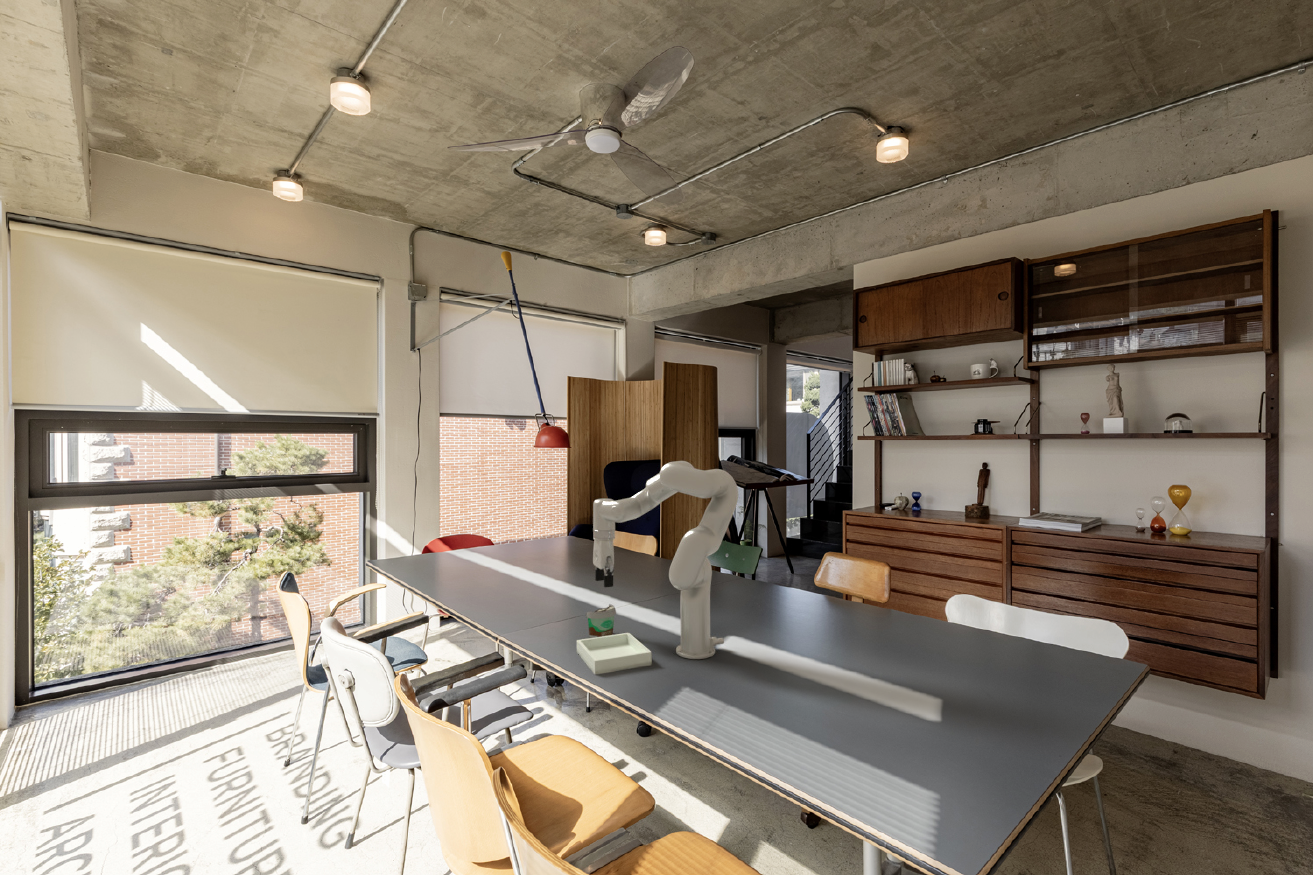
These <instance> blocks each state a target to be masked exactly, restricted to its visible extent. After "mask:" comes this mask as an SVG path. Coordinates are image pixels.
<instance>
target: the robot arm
mask: <svg viewBox="0 0 1313 875" xmlns="http://www.w3.org/2000/svg"><path fill="white" fill-rule="evenodd" d="M677 493H682V494H685V495H688V496H693V497H696V498H699V499H710V498H711V500H710V502H709V503H708V505H707V506H706V509H705V510H704V513H703V515H702V518H701V519H700V521H699V524H698V526H696V527H695V528H692V529H689V530H688V531H687V532H686V533H685V534H684V535H683V537H682V538H681V540H680V543H679V544H678V547H677V550H676V551H675V553H674V554H675V555H674V557H673V559H672V562H671V564H670V567H669V570H668V578H669V582H670V583H671V585H672V586H673V587H674V588H675V589H677V590H679V591H680V606H679V607H680V609H679V610H680V617H679V619H680V644H679V645H678V646H676V649H675V653H676V655H678V656H680V657H682V658H685V659H690V660H701V659H708V658H711V657H713V656H714V655H715V654H716V648H715V646H716V645H724V643H725V640H724V638H723V637H719V638H717V636H711V582H712V576H713V570H712V564H711V561H710V560H709V558H708V557H709V556H711V555H713V554H715V553H716V552H717V551H718V550H719V549H720V547H721V545H722V541H723V539H724V537H725V534H726V532H727V529H728V528H729V525H730V522H731V520H732V518H733V515H734V514H735V513H734V512H735V510H736V507H737V505H738V501H739V489H738V485H737V482H736V481H735V479H734V478H733V476H732V475H731V474H729V472H727V471H726V470H724V469H719V468H714V469H707V470H706V469H705V470H702V469H698V468H695V467H694V466H693V464H691V463H690V462H688V461H685V460H678V461H677V460H676V461H670V462H668V463H665V464H664V465H663V466H661V469H660V471H659V473H657V474H656V475H654V476H653V477H651V478H649V479H647V480H646V483H645V488H644V489H642V490H641V491H639V492H637V493H636V494H634V495H633V496H631V497H627V498H622V499H618V500H614V499H612V498H597V499H595V500H594V501H593V503H592V504H593V508H592V511H593V514H592V517H593V518H592V524H593V525H592V526H593V528H592V532H593V538H592V539H593V540H594V541H593V547H592V548H593V549H592V551H593V552H592V563H593V566H594V569H595V574H594V575H595V576H594V577H595V581H596V582H601V581H603V587H604V588H612V587H614V571H615V570H614V567H615V550H614V549H615V548H614V540H615V538H616V523H625V522H627V521H631V520H636V519H637V518H640V517H641V516H643V515H645V514H646V513H648V512H649V511H652V510H653V509H654V508H656V507H657V506H659V505H660V504H661V503H662V502H664V501H665V500H667V499H668V498H670V497H672V496H673V495H675V494H677Z"/></svg>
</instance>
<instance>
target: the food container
mask: <svg viewBox="0 0 1313 875" xmlns="http://www.w3.org/2000/svg"><path fill="white" fill-rule="evenodd" d="M616 614H617V610H616V608H615V605H613V604H611V603H609V604H608V606H606V607H604V608H599V609H597V610H594V611H587V612H586V618H587V623H588V635H589V638H595V637H602V636H609V635H614V622H615V615H616Z"/></svg>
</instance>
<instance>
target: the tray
mask: <svg viewBox="0 0 1313 875" xmlns="http://www.w3.org/2000/svg"><path fill="white" fill-rule="evenodd" d="M576 653H577V655H578V654H579V655H578V656H579V657H580V659H581V660H582V661H583V662H584V664H586V666H587V667H588V668H589V669H590V670H591V672H592V673H593V674H594V676H595V675H601V674H608V673H613V672H619V671H623V670H624V671H625V670H630V669H636V668H643V667H648V666H652V664H653V663H652V659H653V658H652V651H651V650H650V649H649V648H647V647H646V646H645V645H644V644H643V643H642V642H640V641H639V640H638V639H637V638H636V637H634V636H633V635H632V634H631V633H630V632H625V633H619V634H618V633H617V634H613V635H609V636H602V637H595V638H590V637H589V638H583V639H576Z"/></svg>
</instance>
